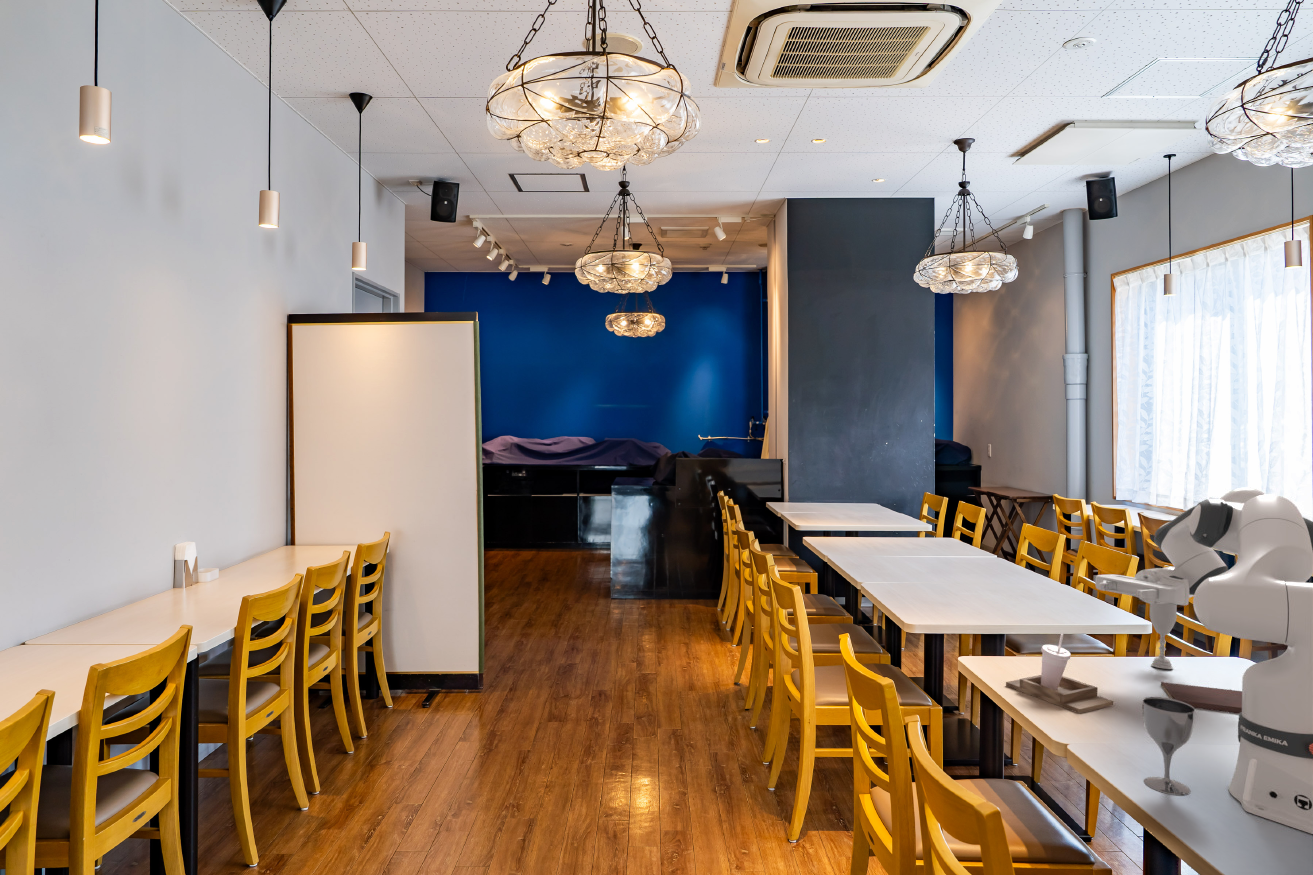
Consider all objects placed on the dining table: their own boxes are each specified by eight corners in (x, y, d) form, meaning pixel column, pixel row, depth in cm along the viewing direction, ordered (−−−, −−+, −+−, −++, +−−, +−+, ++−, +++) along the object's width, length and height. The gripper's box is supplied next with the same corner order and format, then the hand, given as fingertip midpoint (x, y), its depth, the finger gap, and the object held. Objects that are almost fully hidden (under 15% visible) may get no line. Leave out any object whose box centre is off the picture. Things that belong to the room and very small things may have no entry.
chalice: (1183, 669, 206) (1184, 602, 207) (1167, 670, 203) (1169, 602, 204) (1156, 662, 212) (1157, 597, 214) (1140, 663, 210) (1142, 597, 211)
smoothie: (1067, 695, 184) (1078, 641, 182) (1039, 690, 185) (1049, 637, 183) (1058, 682, 191) (1069, 630, 188) (1031, 678, 192) (1041, 626, 189)
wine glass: (1130, 779, 142) (1132, 699, 141) (1160, 772, 144) (1162, 694, 144) (1173, 799, 134) (1174, 715, 134) (1203, 792, 137) (1205, 709, 137)
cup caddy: (1113, 705, 179) (1113, 692, 179) (1079, 713, 174) (1079, 700, 174) (1038, 679, 197) (1038, 667, 197) (1005, 685, 192) (1006, 674, 192)
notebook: (1160, 687, 193) (1160, 679, 193) (1255, 698, 186) (1256, 690, 186) (1175, 708, 179) (1176, 699, 179) (1279, 720, 172) (1279, 712, 172)
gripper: (1114, 567, 206) (1080, 570, 200) (1195, 580, 188) (1161, 585, 182) (1114, 590, 206) (1080, 594, 200) (1195, 606, 188) (1160, 611, 182)
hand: (1119, 590), depth 191 cm, fingers open, 8 cm apart
